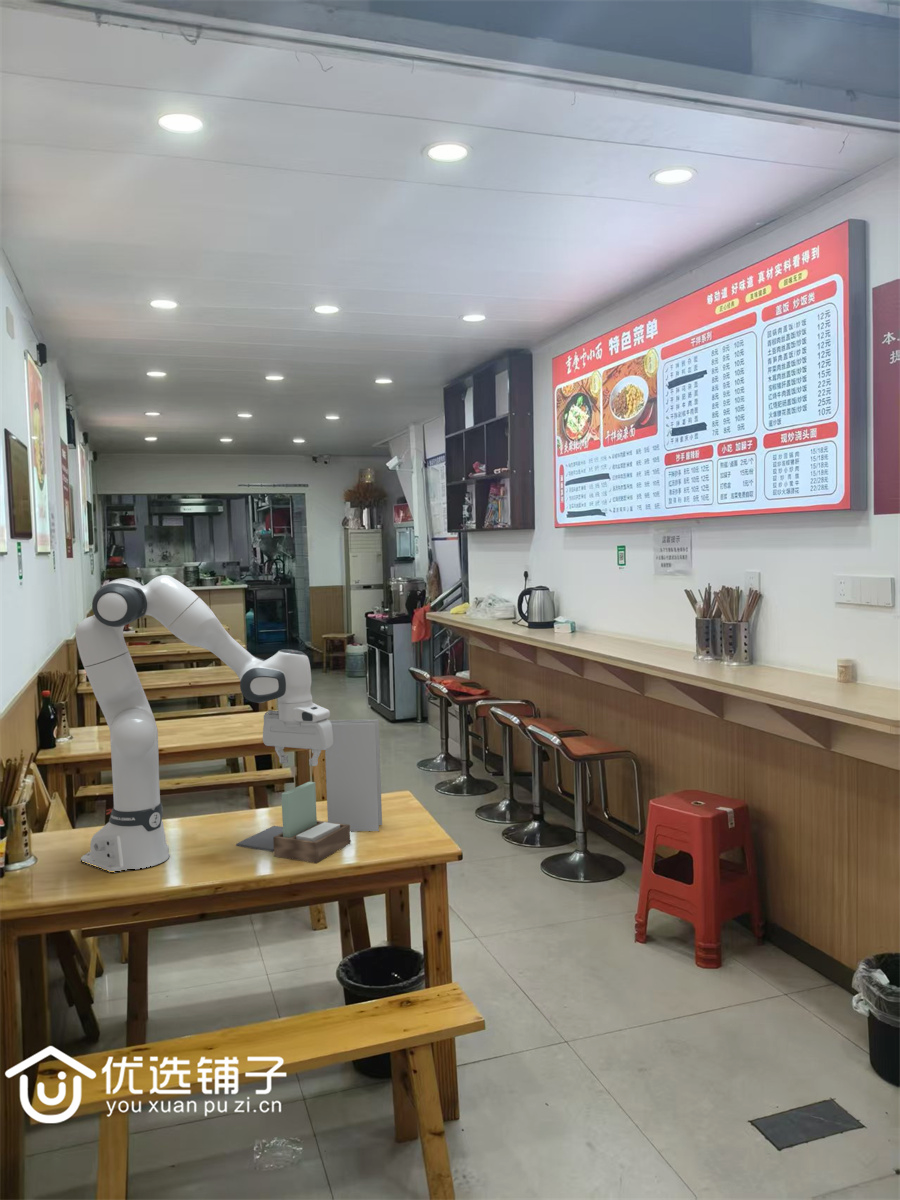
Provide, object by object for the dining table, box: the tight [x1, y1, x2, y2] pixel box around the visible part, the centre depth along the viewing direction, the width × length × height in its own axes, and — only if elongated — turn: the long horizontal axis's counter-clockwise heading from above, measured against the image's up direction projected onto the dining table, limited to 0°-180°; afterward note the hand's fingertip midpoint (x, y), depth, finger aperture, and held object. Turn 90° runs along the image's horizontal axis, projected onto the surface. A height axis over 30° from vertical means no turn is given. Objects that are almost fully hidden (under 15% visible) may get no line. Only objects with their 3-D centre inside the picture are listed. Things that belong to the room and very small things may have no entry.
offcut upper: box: [296, 821, 340, 842], centre depth 220 cm, size 5×12×3 cm, turn 152°
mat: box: [236, 825, 283, 853], centre depth 231 cm, size 12×16×1 cm
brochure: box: [324, 719, 383, 832], centre depth 237 cm, size 14×6×30 cm, turn 84°
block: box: [281, 781, 318, 838], centre depth 223 cm, size 2×12×16 cm, turn 154°
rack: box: [273, 820, 351, 864], centre depth 221 cm, size 13×16×5 cm
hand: (298, 764), depth 222 cm, fingers open, 8 cm apart
